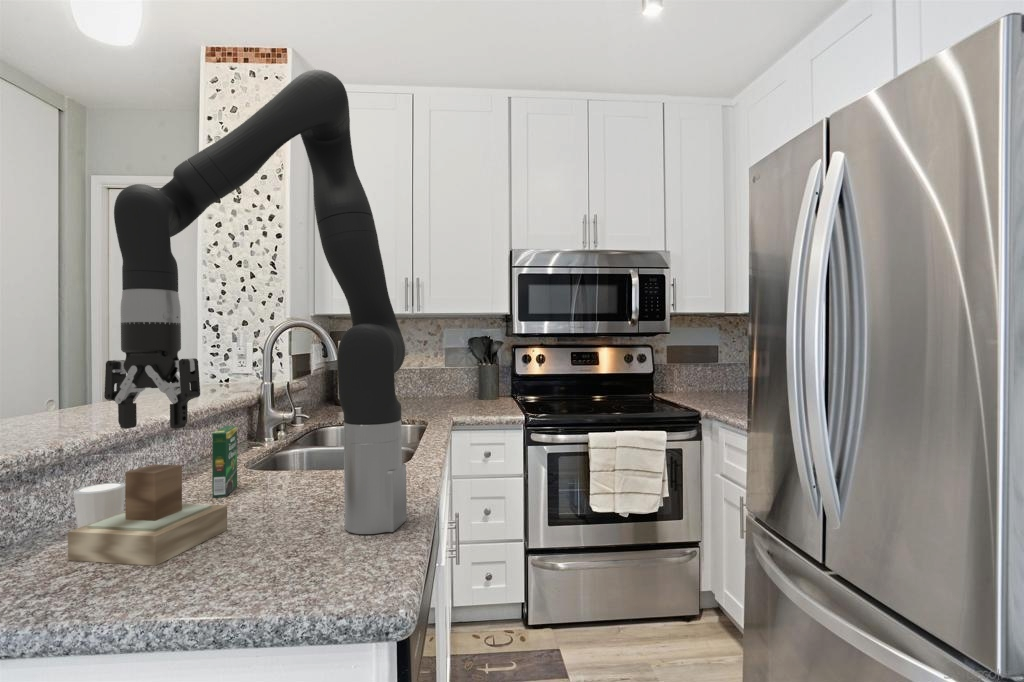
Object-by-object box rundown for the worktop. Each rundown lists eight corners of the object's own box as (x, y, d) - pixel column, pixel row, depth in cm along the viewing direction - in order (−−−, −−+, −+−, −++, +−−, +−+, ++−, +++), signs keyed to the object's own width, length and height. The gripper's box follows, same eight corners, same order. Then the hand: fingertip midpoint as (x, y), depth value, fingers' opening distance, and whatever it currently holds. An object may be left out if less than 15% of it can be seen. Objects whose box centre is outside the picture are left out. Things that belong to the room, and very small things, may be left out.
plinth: (227, 529, 85) (227, 502, 85) (155, 565, 71) (155, 533, 71) (152, 526, 87) (151, 499, 87) (68, 560, 73) (68, 528, 73)
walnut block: (182, 510, 81) (181, 465, 81) (155, 520, 76) (155, 472, 76) (153, 509, 82) (153, 464, 82) (125, 519, 77) (125, 472, 77)
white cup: (130, 520, 90) (130, 479, 90) (120, 533, 84) (120, 489, 84) (81, 526, 87) (80, 484, 87) (66, 540, 81) (66, 495, 81)
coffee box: (227, 497, 103) (226, 431, 103) (211, 498, 103) (210, 432, 103) (238, 486, 111) (238, 425, 111) (223, 487, 111) (223, 426, 111)
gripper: (211, 321, 82) (213, 424, 82) (132, 323, 84) (133, 424, 84) (173, 318, 74) (174, 432, 74) (87, 321, 77) (88, 432, 76)
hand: (152, 428), depth 79 cm, fingers open, 8 cm apart
